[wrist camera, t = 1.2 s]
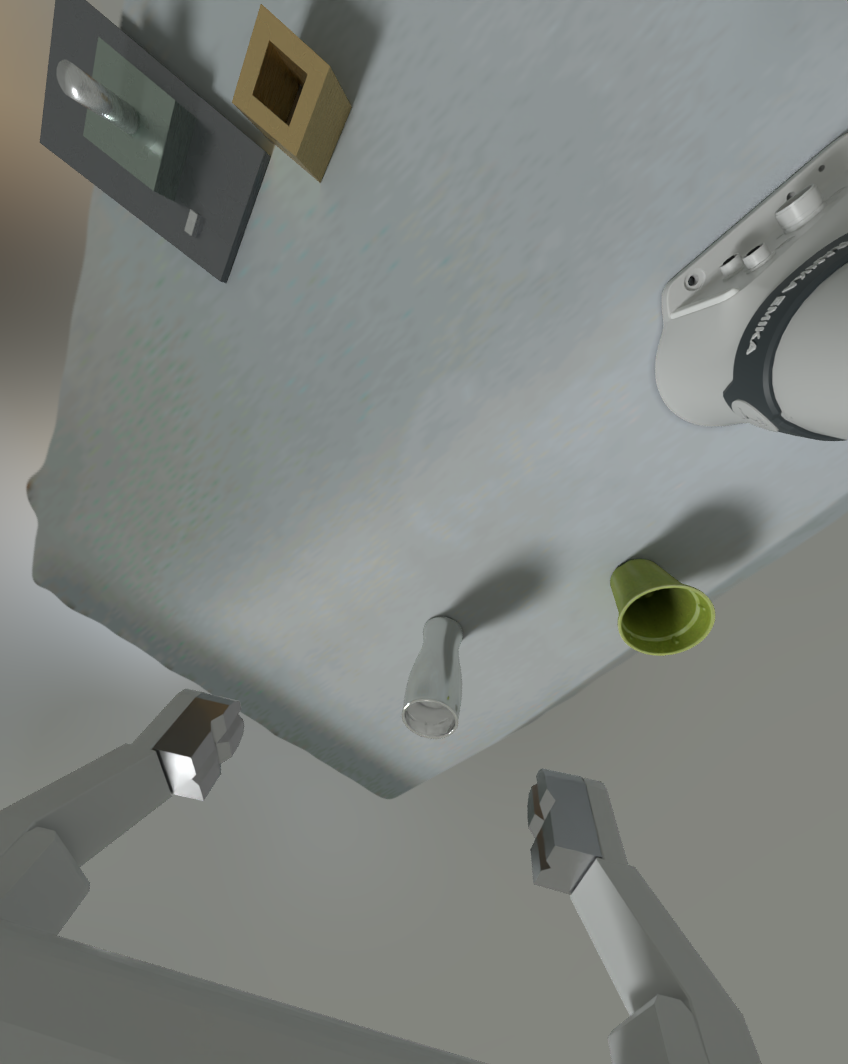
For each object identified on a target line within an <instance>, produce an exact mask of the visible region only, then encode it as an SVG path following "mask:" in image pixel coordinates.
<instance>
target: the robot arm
mask: <svg viewBox="0 0 848 1064" xmlns="http://www.w3.org/2000/svg"><path fill="white" fill-rule="evenodd" d="M691 276H693V277H694V278H695V282H694V284H693V285H692V286H690V285H689V284H688V279H689V278H690V277H691ZM661 303H662V315H663V322H664V324H663V330H662V335H661V338H660V342H659V345H658V349H657V354H656V360H655V377H656V383H657V387H658V390H659V393H660V395H661V397H662V399H663V401H664V402H665V404H666V405H667V407H668V408H669V409H670V410H671V411H672V412H673V413H674V414H676V415H677V416H678V417H680V418H682V419H683V420H685V421H688V422H690V423H693V424H696V425H700V426H707V427H723V426H730V425H736V424H743V423H750V424H752V425H754V426H757V427H760V428H762V429H766V430H769V431H773V432H782V433H786V434H790V435H795V436H800V437H805V438H810V439H816V440H823V441H844V440H848V133H846V134H844V135H842V136H840V137H839V138H837V139H836V140H835V141H833V142H832V143H831V144H829V145H828V146H827V147H826V148H825V149H823V150H822V151H821V152H820V153H819V154H818V155H816V156H815V157H814V158H813V159H812V160H810V161H809V162H808V163H807V164H806V165H805V166H803V167H802V168H801V169H800V170H799V171H798V172H796V173H795V174H794V175H793V176H792V177H791V178H789V179H788V180H787V181H786V182H785V183H784V184H782V185H781V186H780V187H779V188H778V189H776V190H775V191H774V192H773V193H772V194H771V195H769V196H768V197H767V198H766V199H765V200H764V201H762V202H761V203H760V204H759V205H758V206H757V207H755V208H754V209H753V210H752V211H751V212H750V213H748V214H747V215H746V216H745V217H744V218H743V219H741V220H740V221H739V222H738V223H737V224H735V225H734V226H733V227H732V228H731V229H730V230H728V231H727V232H726V233H725V234H724V235H723V236H721V237H720V238H719V239H718V240H717V241H716V242H714V243H713V244H712V245H711V246H710V247H709V248H707V249H706V250H705V251H704V252H703V253H701V254H700V255H699V256H698V257H697V258H696V259H694V260H693V261H692V262H691V263H690V264H689V265H687V266H686V267H685V268H684V269H683V270H682V271H680V272H679V273H678V274H677V275H676V276H675V277H673V278H672V279H671V280H670V281H669V282H668V283H667V284H666V286H665V287H664V289H663V292H662V300H661ZM240 711H241V705H240V701H237V700H233V699H229V698H224V697H220V696H215V695H211V694H207V693H204V692H199V691H195V690H189V689H184V690H183V691H181V692H179V693H178V694H177V695H176V696H175V697H174V698H173V699H172V701H170V703H169V704H168V705H167V706H166V707H165V708H164V709H163V710H162V711H161V712H160V713H159V715H158V716H157V717H156V718H155V719H154V720H153V721H152V722H151V723H150V724H149V725H148V727H147V728H146V729H145V730H144V731H143V732H142V733H141V734H140V735H139V736H138V738H137V739H136V740H135V741H134V742H133V743H132V744H124V745H122V746H120V747H118V748H116V749H114V750H113V751H111V752H109V753H107V754H105V755H103V756H101V757H100V758H98V759H96V760H94V761H92V762H90V763H88V764H86V765H85V766H83V767H81V768H79V769H77V770H75V771H73V772H71V773H70V774H68V775H66V776H64V777H62V778H60V779H58V780H57V781H55V782H53V783H51V784H49V785H47V786H45V787H43V788H42V789H40V790H38V791H36V792H34V793H32V794H30V795H28V796H27V797H25V798H23V799H21V800H19V801H17V802H16V803H14V804H12V805H10V806H8V807H6V808H4V809H3V810H1V811H0V1064H487V1063H484V1062H480V1061H477V1060H473V1059H470V1058H467V1057H464V1056H460V1055H457V1054H453V1053H450V1052H447V1051H443V1050H440V1049H437V1048H433V1047H430V1046H426V1045H423V1044H420V1043H416V1042H413V1041H410V1040H406V1039H403V1038H399V1037H396V1036H393V1035H390V1034H386V1033H383V1032H380V1031H376V1030H373V1029H370V1028H366V1027H363V1026H359V1025H356V1024H353V1023H349V1022H345V1021H343V1020H339V1019H336V1018H332V1017H329V1016H326V1015H322V1014H319V1013H316V1012H312V1011H309V1010H306V1009H302V1008H299V1007H296V1006H292V1005H289V1004H286V1003H282V1002H279V1001H276V1000H272V999H268V998H265V997H262V996H258V995H255V994H252V993H249V992H245V991H242V990H239V989H235V988H232V987H229V986H225V985H222V984H218V983H215V982H212V981H208V980H205V979H202V978H198V977H195V976H192V975H188V974H185V973H181V972H178V971H175V970H172V969H168V968H165V967H161V966H158V965H154V964H151V963H148V962H144V961H141V960H138V959H134V958H131V957H128V956H125V955H121V954H118V953H114V952H111V951H107V950H104V949H101V948H98V947H94V946H91V945H88V944H84V943H81V942H77V941H74V940H71V939H67V938H64V937H60V936H57V935H58V933H59V932H60V931H61V929H62V928H63V926H64V925H65V924H66V922H67V921H68V920H69V918H70V917H71V916H72V914H73V913H74V911H75V910H76V909H77V907H78V906H79V905H80V903H81V902H82V900H83V899H84V898H85V896H86V895H87V894H88V892H89V889H90V882H89V881H88V879H87V878H86V876H85V875H84V873H83V872H82V870H81V869H80V867H81V866H82V865H83V864H85V863H86V862H87V861H89V860H90V859H91V858H92V857H94V856H95V855H96V854H98V853H99V852H100V851H102V850H103V849H104V848H105V847H107V846H108V845H109V844H111V843H112V842H113V841H114V840H116V839H117V838H118V837H120V836H121V835H122V834H124V833H125V832H126V831H128V830H129V829H130V828H131V827H133V826H134V825H135V824H137V823H138V822H139V821H141V820H142V819H143V818H144V817H146V816H147V815H148V814H150V813H151V812H152V811H154V810H155V809H156V808H157V807H159V806H160V805H161V804H162V803H164V802H165V801H166V800H168V799H169V798H170V797H172V794H174V795H179V796H184V797H188V798H193V799H197V800H202V801H204V799H205V798H206V796H207V795H208V793H209V792H210V790H211V789H212V787H213V785H214V784H215V782H216V781H217V779H218V778H219V776H220V775H221V764H222V763H223V762H225V761H226V760H227V759H229V758H231V757H232V755H233V754H234V752H235V751H236V749H237V747H238V746H239V743H240V740H241V738H242V735H243V731H244V721H243V719H242V718H241V717H240V716H239V715H238V713H239V712H240ZM536 777H537V784H536V785H533V786H532V787H531V790H530V793H529V798H528V806H527V807H528V827H529V829H530V831H531V832H532V834H533V836H534V838H535V841H534V843H533V845H532V847H531V849H530V851H531V862H532V872H533V883H534V884H535V885H538V886H542V887H545V888H549V889H552V890H556V891H560V892H563V893H566V894H570V895H571V896H570V898H571V900H572V902H573V904H574V906H575V908H576V910H577V912H578V914H579V916H580V918H581V920H582V922H583V924H584V926H585V928H586V930H587V932H588V934H589V936H590V938H591V940H592V941H593V944H594V945H595V948H596V949H597V951H598V953H599V956H600V958H601V959H602V961H603V963H604V965H605V967H606V969H607V971H608V973H609V975H610V977H611V979H612V981H613V983H614V985H615V987H616V989H617V991H618V993H619V995H620V997H621V999H622V1001H623V1003H624V1005H625V1007H626V1009H627V1011H628V1013H629V1015H630V1017H628V1018H627V1019H626V1020H625V1021H623V1022H622V1023H621V1024H619V1025H618V1026H617V1027H616V1028H614V1029H613V1030H612V1032H611V1033H610V1035H609V1036H608V1041H609V1047H610V1053H611V1059H612V1064H762V1063H761V1061H760V1058H759V1055H758V1053H757V1050H756V1048H755V1045H754V1043H753V1040H752V1037H751V1035H750V1032H749V1030H748V1027H747V1025H746V1022H745V1019H744V1017H743V1014H742V1013H741V1012H740V1010H739V1009H738V1008H737V1006H736V1005H735V1004H734V1002H733V1001H732V999H731V998H730V997H729V995H728V994H727V993H726V991H725V990H724V988H723V987H722V986H721V984H720V983H719V982H718V980H717V979H716V977H715V976H714V975H713V973H712V972H711V971H710V969H709V968H708V966H707V965H706V964H705V962H704V961H703V960H702V958H701V957H700V955H699V954H698V953H697V951H696V950H695V949H694V947H693V946H692V944H691V943H690V942H689V940H688V939H687V938H686V936H685V935H684V933H683V932H682V931H681V929H680V928H679V927H678V925H677V924H676V923H675V921H674V920H673V918H672V917H671V916H670V914H669V913H668V912H667V910H666V909H665V908H664V906H663V905H662V903H661V902H660V901H659V899H658V898H657V896H656V895H655V894H654V892H653V891H652V890H651V888H650V887H649V885H648V884H647V883H646V881H645V880H644V879H643V877H642V876H641V874H640V873H639V872H638V871H637V869H636V868H635V867H634V866H630V865H628V862H627V859H626V855H625V852H624V848H623V844H622V841H621V837H620V834H619V831H618V827H617V823H616V820H615V816H614V812H613V809H612V805H611V802H610V798H609V795H608V791H607V788H606V787H605V785H604V783H602V782H601V781H596V780H592V779H588V778H583V777H580V776H576V775H571V774H566V773H561V772H556V771H551V770H546V769H540V770H539V771H538V773H537V776H536Z"/></svg>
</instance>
